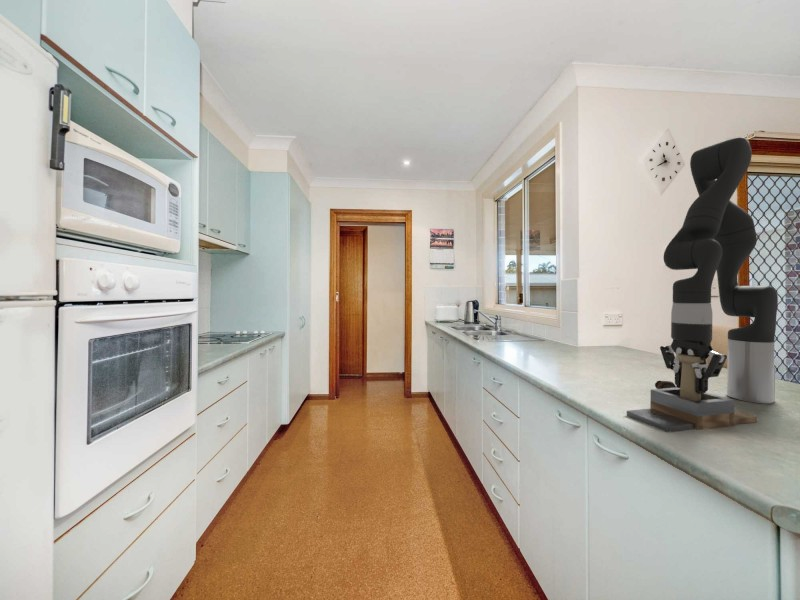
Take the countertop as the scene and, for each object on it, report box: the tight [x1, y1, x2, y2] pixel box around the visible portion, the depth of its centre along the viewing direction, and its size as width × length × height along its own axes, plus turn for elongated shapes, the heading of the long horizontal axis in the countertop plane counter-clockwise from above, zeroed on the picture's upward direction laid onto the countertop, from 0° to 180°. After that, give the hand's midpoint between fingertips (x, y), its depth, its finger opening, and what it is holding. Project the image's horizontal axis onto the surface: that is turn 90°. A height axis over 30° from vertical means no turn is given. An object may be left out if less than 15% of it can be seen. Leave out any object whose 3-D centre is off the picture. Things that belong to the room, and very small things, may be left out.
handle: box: [678, 354, 704, 401], centre depth 79 cm, size 5×6×15 cm
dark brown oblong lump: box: [654, 380, 676, 389], centre depth 94 cm, size 6×5×15 cm
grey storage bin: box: [626, 387, 736, 433], centre depth 78 cm, size 19×11×6 cm, turn 101°
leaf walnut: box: [649, 400, 758, 431], centre depth 80 cm, size 19×11×3 cm, turn 101°
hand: (690, 389), depth 79 cm, fingers closed on handle, 4 cm apart
